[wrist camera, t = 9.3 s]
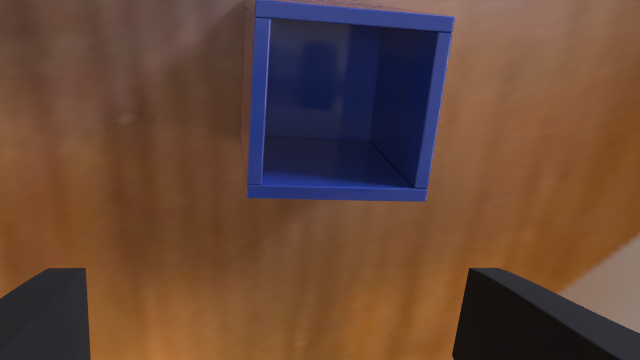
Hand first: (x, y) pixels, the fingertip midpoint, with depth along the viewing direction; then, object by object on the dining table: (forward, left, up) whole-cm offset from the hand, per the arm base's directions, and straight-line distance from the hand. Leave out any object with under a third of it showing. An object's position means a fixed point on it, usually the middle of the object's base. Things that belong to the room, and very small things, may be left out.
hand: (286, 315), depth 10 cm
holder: (+3, -2, -10) cm, 11 cm away
